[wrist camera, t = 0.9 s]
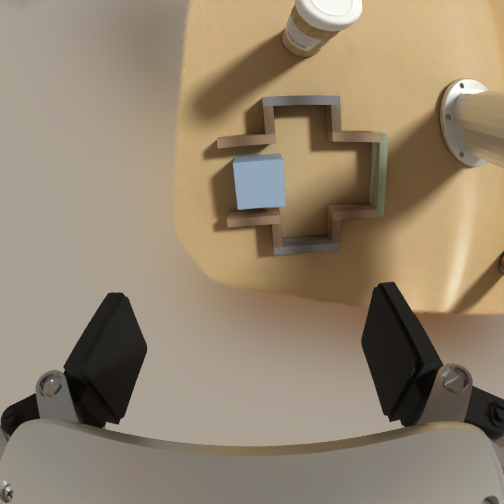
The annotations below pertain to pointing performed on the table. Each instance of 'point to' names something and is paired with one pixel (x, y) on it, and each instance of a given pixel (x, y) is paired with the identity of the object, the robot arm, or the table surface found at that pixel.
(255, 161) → the slate block
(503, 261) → the sauce bottle
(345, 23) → the sprinkles bottle
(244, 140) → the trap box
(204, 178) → the table surface
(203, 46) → the table surface
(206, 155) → the table surface
